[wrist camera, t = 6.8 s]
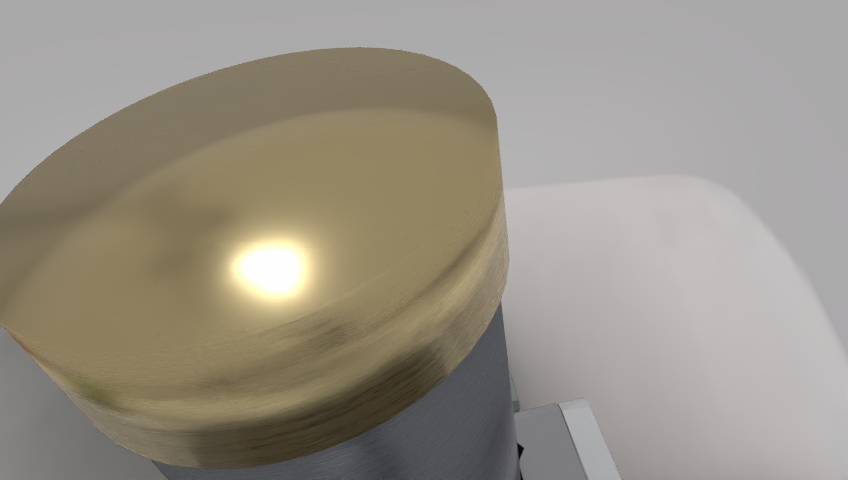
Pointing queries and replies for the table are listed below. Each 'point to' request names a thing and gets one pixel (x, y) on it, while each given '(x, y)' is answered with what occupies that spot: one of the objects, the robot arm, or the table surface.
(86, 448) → the table surface
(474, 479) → the pepper mill
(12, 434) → the table surface
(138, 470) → the table surface
